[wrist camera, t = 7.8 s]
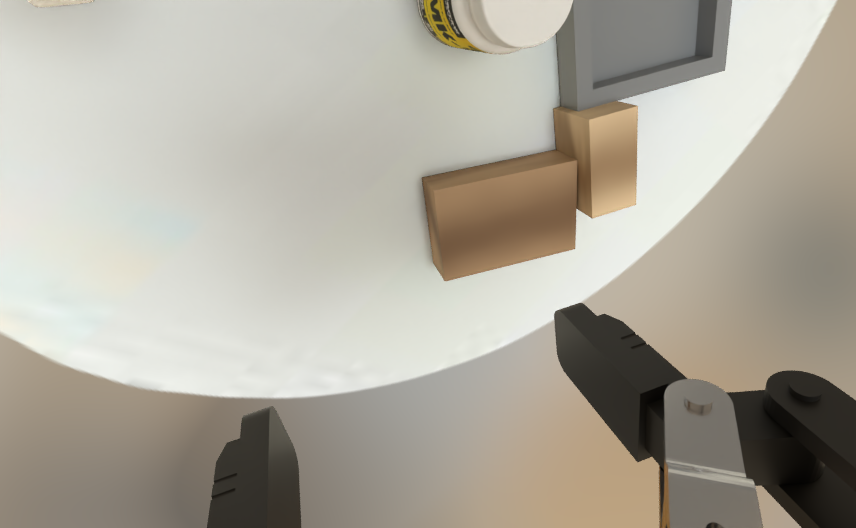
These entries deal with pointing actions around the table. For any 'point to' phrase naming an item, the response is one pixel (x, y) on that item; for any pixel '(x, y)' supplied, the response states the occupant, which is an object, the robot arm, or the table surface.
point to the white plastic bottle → (56, 2)
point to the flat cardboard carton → (501, 213)
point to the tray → (638, 47)
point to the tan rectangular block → (601, 154)
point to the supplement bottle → (493, 22)
